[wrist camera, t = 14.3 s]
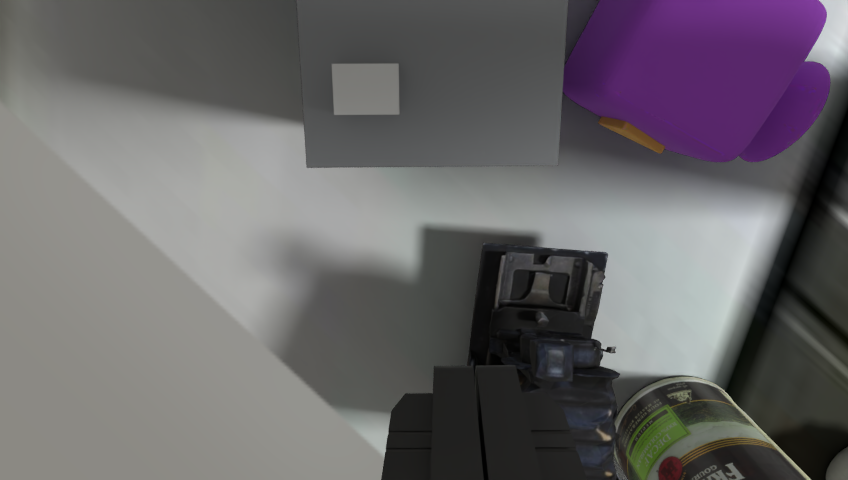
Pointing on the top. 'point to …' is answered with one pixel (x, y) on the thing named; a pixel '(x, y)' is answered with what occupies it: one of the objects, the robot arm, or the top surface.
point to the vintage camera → (550, 338)
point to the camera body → (431, 82)
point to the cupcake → (838, 466)
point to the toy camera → (702, 74)
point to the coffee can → (695, 437)
